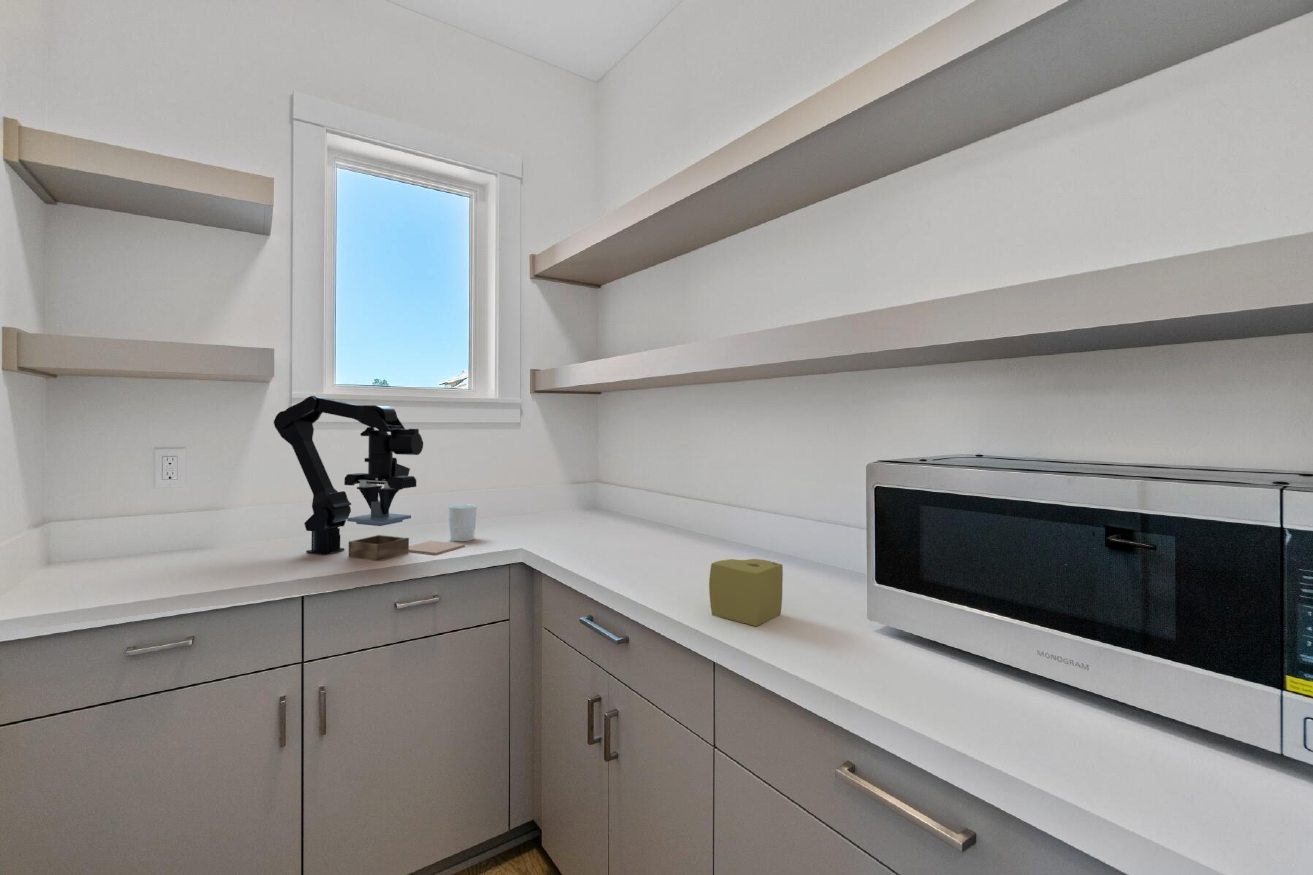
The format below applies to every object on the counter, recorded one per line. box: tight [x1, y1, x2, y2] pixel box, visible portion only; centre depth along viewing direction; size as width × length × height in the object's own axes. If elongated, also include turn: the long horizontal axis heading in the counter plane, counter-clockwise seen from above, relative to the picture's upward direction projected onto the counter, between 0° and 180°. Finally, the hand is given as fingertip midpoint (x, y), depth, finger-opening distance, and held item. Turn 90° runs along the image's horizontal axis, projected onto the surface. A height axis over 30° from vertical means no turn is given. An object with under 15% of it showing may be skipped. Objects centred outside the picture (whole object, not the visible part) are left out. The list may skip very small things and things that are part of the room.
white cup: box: [448, 503, 478, 542], centre depth 174 cm, size 8×8×10 cm
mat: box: [409, 540, 466, 556], centre depth 161 cm, size 12×12×1 cm
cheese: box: [708, 558, 784, 627], centre depth 110 cm, size 10×11×10 cm
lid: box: [346, 499, 412, 527], centre depth 151 cm, size 11×11×6 cm
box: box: [348, 534, 410, 562], centre depth 152 cm, size 10×10×4 cm
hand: (379, 513), depth 151 cm, fingers closed on lid, 3 cm apart
